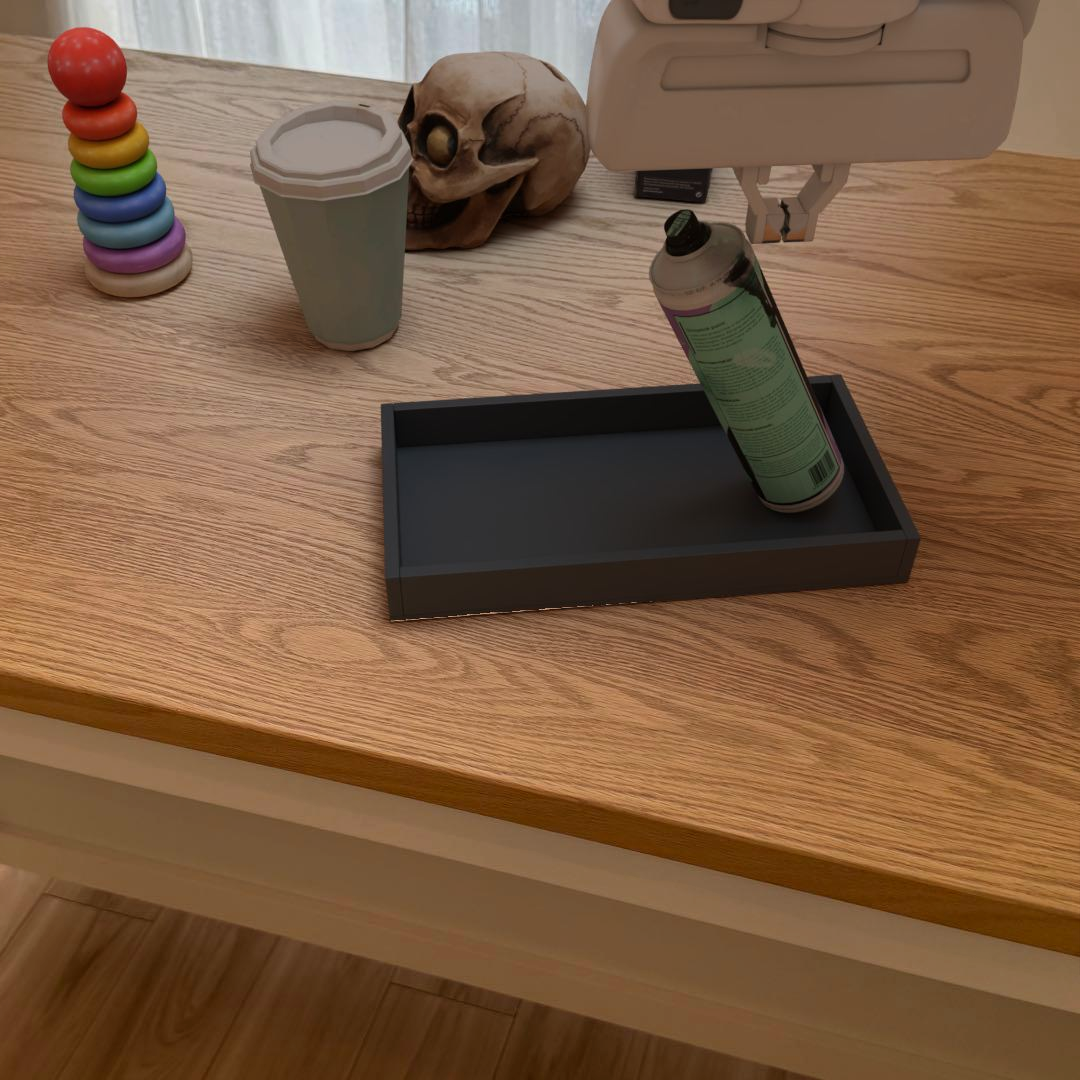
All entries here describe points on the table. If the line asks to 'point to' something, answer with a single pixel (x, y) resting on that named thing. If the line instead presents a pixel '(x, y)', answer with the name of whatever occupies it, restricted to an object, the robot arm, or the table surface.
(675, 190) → the small box
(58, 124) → the table surface
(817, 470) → the spray can
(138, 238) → the stacking toy
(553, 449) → the tray
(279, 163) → the disposable coffee cup
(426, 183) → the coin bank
